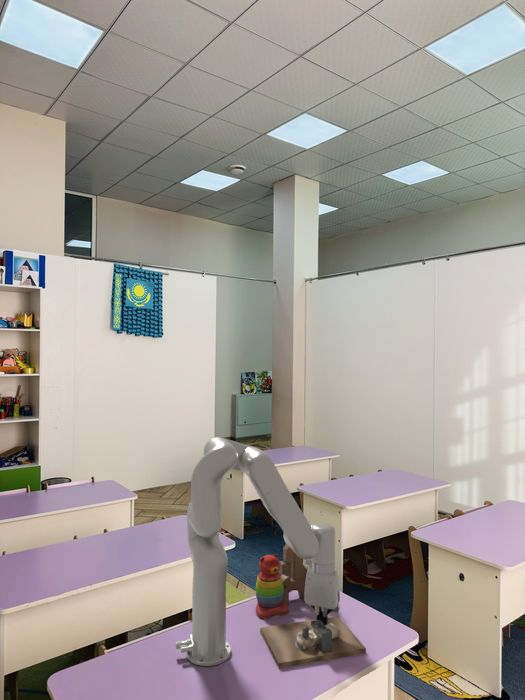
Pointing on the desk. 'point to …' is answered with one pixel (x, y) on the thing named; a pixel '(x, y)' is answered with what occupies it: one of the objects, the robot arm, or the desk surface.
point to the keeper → (323, 636)
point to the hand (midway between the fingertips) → (322, 627)
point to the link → (313, 636)
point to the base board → (291, 654)
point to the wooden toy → (292, 574)
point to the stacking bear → (270, 588)
